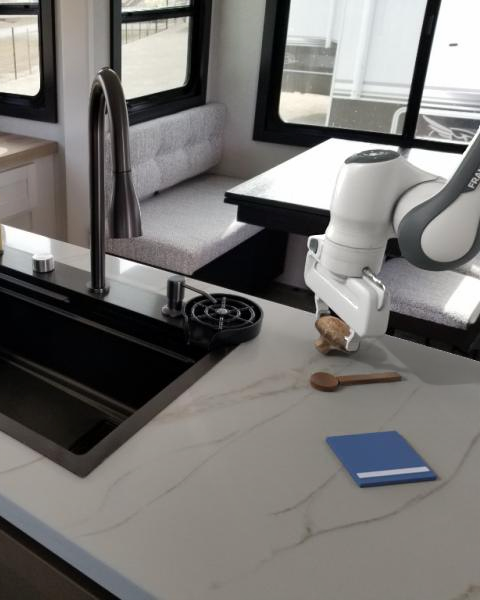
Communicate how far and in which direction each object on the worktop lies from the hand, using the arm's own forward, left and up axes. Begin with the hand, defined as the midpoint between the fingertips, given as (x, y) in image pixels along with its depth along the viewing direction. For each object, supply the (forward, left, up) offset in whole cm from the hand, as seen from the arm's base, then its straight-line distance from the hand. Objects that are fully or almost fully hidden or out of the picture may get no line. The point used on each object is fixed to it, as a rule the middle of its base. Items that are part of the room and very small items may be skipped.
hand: (335, 333), depth 104 cm
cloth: (+7, +26, -3) cm, 27 cm away
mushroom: (0, 0, -4) cm, 4 cm away
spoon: (+2, +9, -3) cm, 10 cm away
